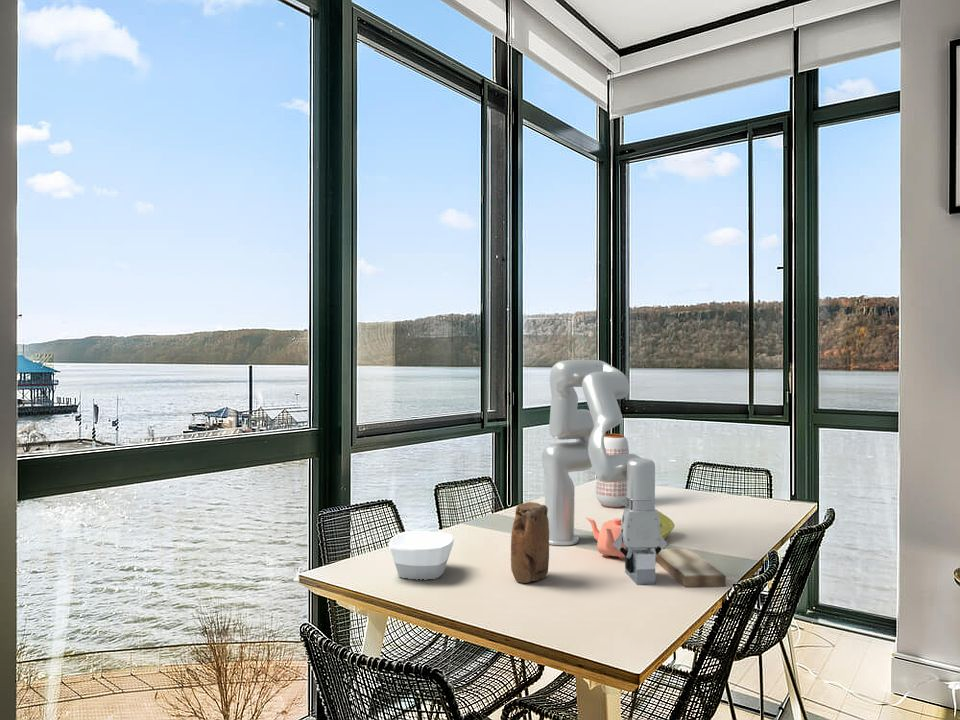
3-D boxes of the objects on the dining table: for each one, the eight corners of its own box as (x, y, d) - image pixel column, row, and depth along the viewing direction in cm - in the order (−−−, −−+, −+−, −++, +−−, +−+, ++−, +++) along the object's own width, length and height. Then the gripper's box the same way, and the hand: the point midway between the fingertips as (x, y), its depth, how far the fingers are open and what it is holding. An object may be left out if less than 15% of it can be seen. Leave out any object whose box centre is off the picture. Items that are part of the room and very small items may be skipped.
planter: (593, 501, 284) (594, 432, 283) (626, 502, 283) (627, 433, 283) (598, 509, 270) (598, 436, 270) (632, 509, 270) (633, 437, 269)
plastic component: (652, 541, 217) (626, 523, 223) (643, 560, 220) (617, 541, 225) (679, 524, 232) (654, 508, 238) (670, 542, 235) (645, 525, 240)
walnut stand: (685, 587, 182) (685, 575, 182) (653, 559, 206) (653, 549, 206) (725, 585, 183) (725, 574, 183) (689, 558, 207) (689, 548, 207)
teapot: (606, 564, 201) (606, 526, 201) (585, 550, 215) (585, 515, 215) (651, 560, 206) (651, 523, 205) (627, 546, 219) (627, 512, 219)
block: (528, 570, 195) (529, 499, 195) (551, 576, 190) (552, 503, 190) (506, 581, 186) (507, 506, 186) (530, 587, 182) (530, 510, 181)
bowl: (381, 582, 185) (381, 547, 185) (398, 562, 202) (398, 529, 202) (447, 585, 182) (447, 550, 182) (458, 565, 200) (458, 532, 200)
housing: (636, 584, 184) (637, 552, 184) (625, 572, 194) (625, 542, 194) (655, 583, 185) (655, 552, 184) (642, 571, 195) (642, 541, 194)
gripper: (613, 508, 184) (613, 576, 185) (676, 507, 186) (675, 574, 186) (605, 502, 192) (605, 567, 192) (665, 501, 194) (665, 566, 194)
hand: (639, 570), depth 189 cm, fingers closed on housing, 5 cm apart
